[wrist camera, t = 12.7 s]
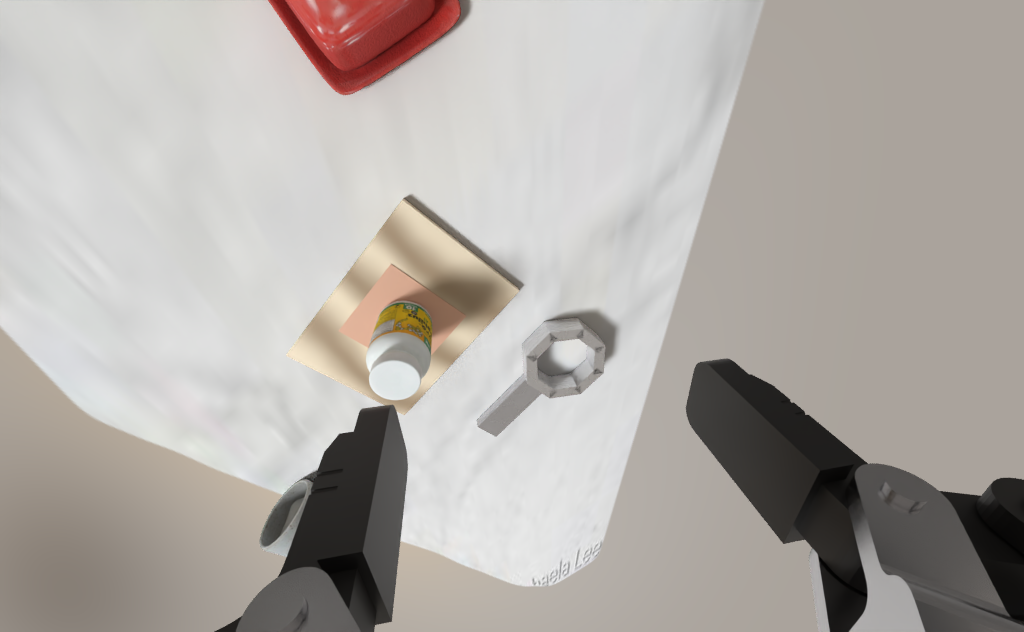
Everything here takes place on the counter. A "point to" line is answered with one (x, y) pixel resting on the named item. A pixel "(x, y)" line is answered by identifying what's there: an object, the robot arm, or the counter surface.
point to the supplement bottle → (399, 350)
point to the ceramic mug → (285, 519)
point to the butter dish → (364, 34)
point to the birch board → (404, 277)
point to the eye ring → (539, 382)
